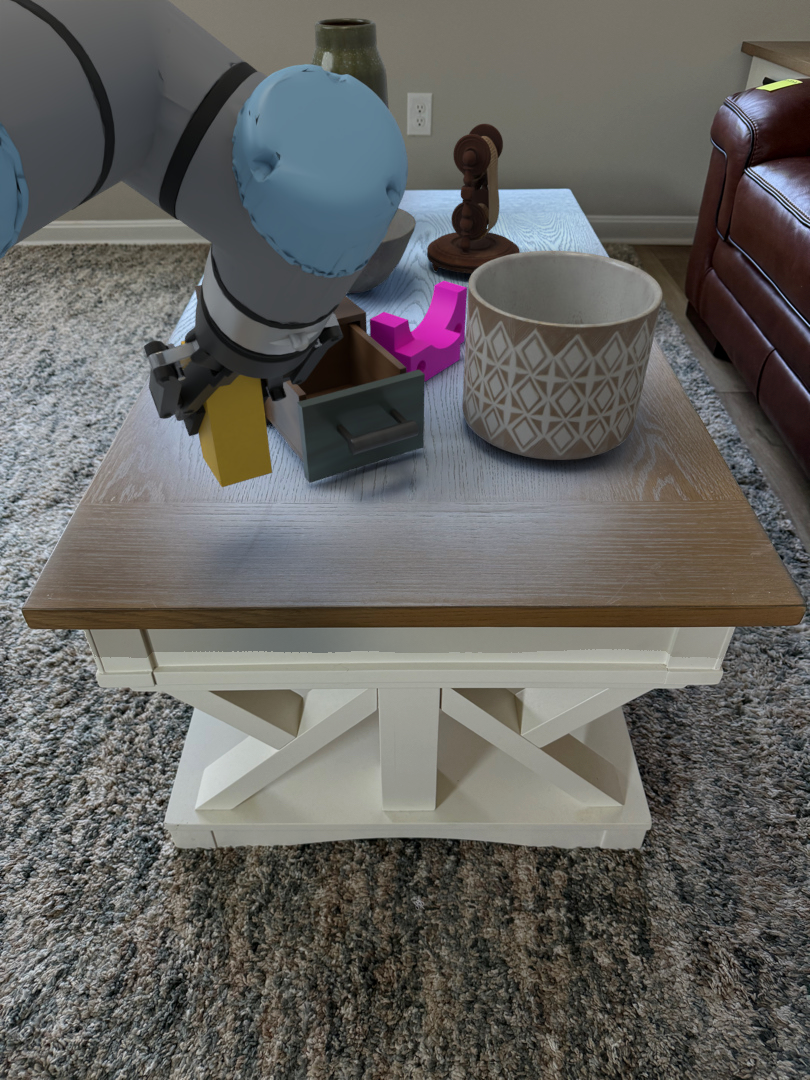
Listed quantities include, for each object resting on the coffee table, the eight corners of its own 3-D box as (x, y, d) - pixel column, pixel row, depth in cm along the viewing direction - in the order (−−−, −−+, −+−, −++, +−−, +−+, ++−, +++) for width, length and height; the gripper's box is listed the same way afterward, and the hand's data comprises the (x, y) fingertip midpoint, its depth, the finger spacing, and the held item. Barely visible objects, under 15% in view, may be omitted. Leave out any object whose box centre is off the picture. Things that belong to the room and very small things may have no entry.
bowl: (270, 304, 115) (262, 235, 109) (320, 259, 129) (315, 195, 122) (391, 321, 111) (390, 250, 104) (429, 272, 124) (430, 207, 118)
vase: (302, 241, 135) (284, 26, 115) (331, 216, 145) (319, 14, 125) (379, 250, 132) (374, 30, 112) (403, 223, 142) (402, 17, 122)
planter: (666, 451, 85) (703, 307, 75) (507, 488, 80) (522, 339, 70) (576, 372, 99) (597, 241, 89) (435, 399, 94) (439, 263, 84)
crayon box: (221, 488, 65) (200, 368, 58) (202, 458, 68) (180, 341, 61) (272, 473, 67) (257, 354, 60) (251, 444, 70) (235, 329, 63)
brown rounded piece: (505, 288, 120) (516, 145, 107) (414, 275, 124) (414, 136, 111) (527, 254, 130) (541, 121, 117) (443, 244, 134) (447, 113, 121)
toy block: (410, 390, 96) (411, 333, 91) (371, 375, 99) (369, 319, 94) (479, 346, 105) (483, 292, 100) (441, 333, 108) (443, 280, 103)
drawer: (444, 468, 82) (447, 393, 76) (327, 506, 77) (321, 429, 71) (359, 385, 95) (356, 316, 89) (255, 413, 90) (244, 342, 84)
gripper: (139, 393, 43) (130, 481, 65) (417, 326, 50) (324, 427, 71) (93, 265, 43) (99, 396, 65) (377, 216, 50) (296, 350, 71)
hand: (217, 412), depth 68 cm, fingers closed on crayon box, 4 cm apart
